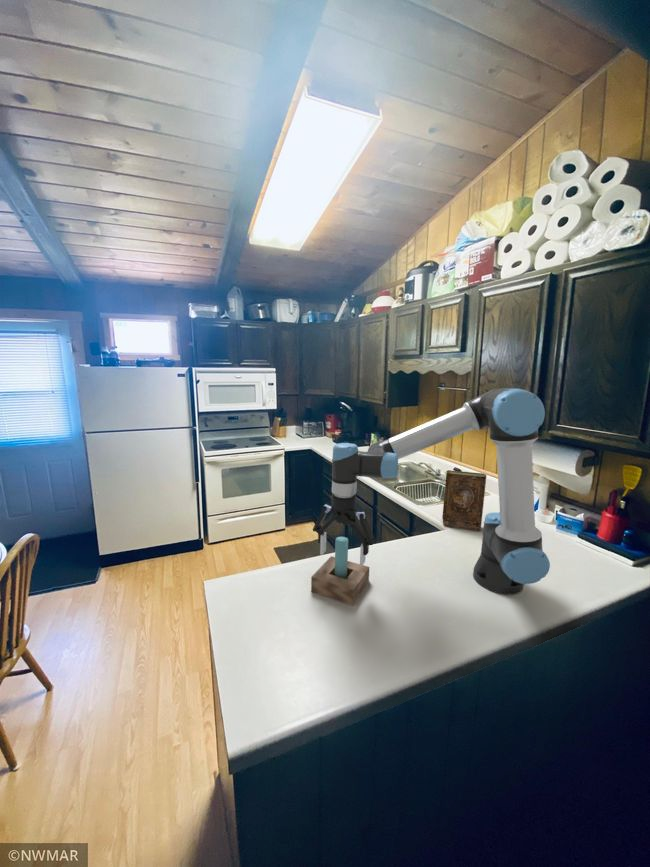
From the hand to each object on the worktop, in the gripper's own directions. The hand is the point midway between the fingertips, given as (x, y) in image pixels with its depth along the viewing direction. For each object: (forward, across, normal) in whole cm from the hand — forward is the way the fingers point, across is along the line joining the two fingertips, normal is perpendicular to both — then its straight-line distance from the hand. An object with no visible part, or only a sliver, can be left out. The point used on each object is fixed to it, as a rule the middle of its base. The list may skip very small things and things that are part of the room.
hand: (342, 558), depth 109 cm
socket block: (+10, 0, 0) cm, 10 cm away
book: (+10, -30, -67) cm, 74 cm away
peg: (+10, 0, 0) cm, 10 cm away
